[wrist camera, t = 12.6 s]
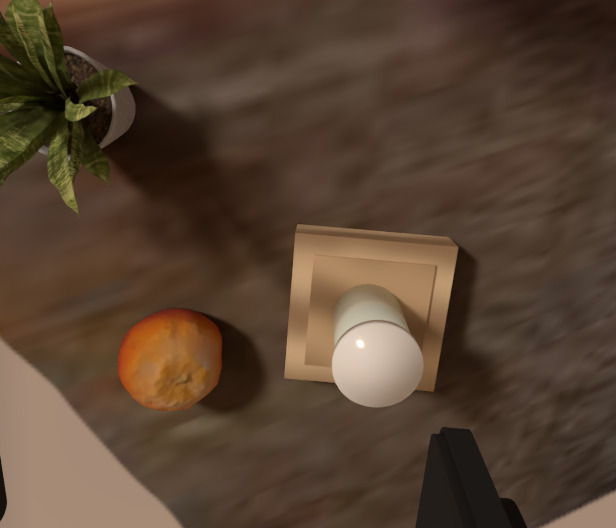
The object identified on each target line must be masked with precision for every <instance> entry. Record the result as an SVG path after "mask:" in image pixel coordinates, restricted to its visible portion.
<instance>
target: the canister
mask: <svg viewBox="0 0 616 528" xmlns="http://www.w3.org/2000/svg"><path fill="white" fill-rule="evenodd" d="M333 326H334V350H333V355H332V373H333V377H334V380H335V383H336V385H337V386H338V388H339V389H340V391H341V392H342V393H343V394H344V395H345V396H346V397H347V398H349V399H350V400H352V401H354V402H356V403H358V404H360V405H364V406H368V407H385V406H390V405H393V404H396V403H398V402H400V401H402V400H404V399H405V398H407V397H408V396H409V395H410V394H411V393H412V392H413V391H414V390H415V389H416V387H417V386H418V384H419V382H420V380H421V378H422V374H423V367H424V363H423V356H422V353H421V350H420V348H419V345H418V343H417V341H416V340H415V338H414V337H413V335H412V334H411V333H410V331H409V328H408V325H407V323H406V320H405V318H404V315H403V312H402V310H401V307H400V304H399V302H398V300H397V299H396V297H395V296H394V295H393V294H392V293H391V292H390V291H389V290H387V289H385V288H384V287H381V286H378V285H374V284H362V285H358V286H355V287H352V288H350V289H349V290H347V291H346V292H345V293H344V294H342V295H341V297H340V298H339V299H338V301H337V303H336V305H335V308H334V312H333Z"/></svg>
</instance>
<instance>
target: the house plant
mask: <svg viewBox="0 0 616 528" xmlns="http://www.w3.org/2000/svg"><path fill="white" fill-rule="evenodd" d="M5 16H6V21H7V23H6V22H5V20H4V18H3V16H2V14H1V12H0V42H1V43H2V44H3V45H4V46H5V47H6V49H7V50H8V51H9V52H10V53H11V55H12V56H13V57H14V58H15V59H16V60H17V61H18V62H15V61H13V60H11V59H9V58H7V57H5V56H3V55H1V54H0V113H3V112H5V111H9V112H8V113H5V114H3V115H1V116H0V186H1V185H2V184H3V183H4V181H5V180H6V178H7V176H8V175H9V174H11V173H12V172H14V171H15V170H17V169H18V168H19V167H21V166H22V165H24V164H25V163H26V162H27V161H28V160H29V159H31V158H32V157H33V156H34V155H35V154H36V153H37V152H38V151H39V152H40V153H42V154H44V155H47V168H48V176H49V180H50V181H51V182H52V184H53V185H54V186H55V187H56V188H57V189H58V190H59V193H60V195H61V197H62V199H63V200H64V202H65V203H66V205H67V206H69V207H70V208H72V209H73V210H74V211H75V212H77V213H78V217H79V211H78V206H77V203H76V199H75V196H74V191H73V186H74V181H75V177H76V175H77V173H78V171H79V169H80V166H81V164H82V163H83V165H84V167H85V168H86V169H87V170H88V171H89V172H91V173H92V174H94V175H95V176H97V177H99V178H100V179H102V180H104V181H105V182H107V183H108V184H109V185H111V184H110V182H109V171H110V168H109V164H108V161H107V158H106V156H105V154H104V152H103V151H102V148H104V147H105V146H107V145H108V144H110V143H111V142H113V141H114V140H116V139H117V138H119V137H120V136H122V135H123V134H124V133H125V132H126V131H127V130H128V129H129V128H130V126H131V125H132V123H133V120H134V117H135V108H136V105H135V101H134V98H133V95H132V93H131V91H130V89H129V87H128V86H130V85H133V84H139V83H136V82H134V81H133V80H131V79H130V78H129V77H128V76H126V75H125V74H124V73H123V72H122V71H118V70H114V69H108V68H107V67H105V66H104V65H102V64H100V63H99V62H97V61H96V60H94V59H92V58H91V57H89V56H88V55H86V54H85V53H83V52H80V51H78V50H76V49H74V48H71V47H68V46H64V45H63V37H62V33H61V30H60V27H59V24H58V22H57V20H56V18H55V16H54V13H53V9H52V2H51V3H50V4H49V6H48V7H46V8H45V9H44V10H43V11H42V8H41V6H40V4H39V2H38V0H12V1H11V3H10V4H9V5H8V7H7V10H6V14H5ZM7 24H8V25H7ZM8 26H9V27H8ZM68 161H70V163H68Z"/></svg>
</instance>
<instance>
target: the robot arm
mask: <svg viewBox="0 0 616 528" xmlns="http://www.w3.org/2000/svg"><path fill="white" fill-rule="evenodd" d="M6 505H7V498H6V491H5V485H4V478H3V472H2V465H1V458H0V521H1V519H2V518H3V515H4V513H5V510H6ZM416 528H527V526H526V524H525V522H524V520H523V517H522V515H521V513H520V511H519V509H518V507H517V505H516V504H515V502H514V501H513V500H511V499H508V498H499V496H498V493H497V491H496V489H495V486H494V484H493V481H492V479H491V477H490V474H489V472H488V470H487V467H486V465H485V463H484V460H483V458H482V456H481V453H480V451H479V448H478V446H477V444H476V441H475V439H474V437H473V434H472V432H471V431H470V430H469V429H460V428H447V427H443V428H441V430H440V434H432V435H431V439H430V444H429V450H428V456H427V462H426V468H425V474H424V480H423V486H422V492H421V498H420V504H419V510H418V516H417V522H416Z"/></svg>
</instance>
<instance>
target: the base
mask: <svg viewBox="0 0 616 528" xmlns="http://www.w3.org/2000/svg"><path fill="white" fill-rule="evenodd" d="M457 253H458V246H457V245H456V244H455V243H454V242H453V241H452V240H451V239H450V238H449V237H440V236H429V235H417V234H406V233H394V232H383V231H371V230H360V229H348V228H337V227H325V226H314V225H302V224H297V228H296V233H295V245H294V258H293V271H292V284H291V297H290V311H289V324H288V337H287V350H286V363H285V376H284V378H288V379H300V380H311V381H322V382H333V383H335V380H334V377H333V373H332V355H333V350H334V326H333V312H334V308H335V305H336V303H337V301H338V299H339V298H340V297H341V295H342V294H344V293H345V292H346V291H347V290H349V289H350V288H352V287H355V286H358V285H362V284H374V285H378V286H381V287H384V288H385V289H387V290H389V291H390V292H391V293H392V294H393V295H394V296H395V297H396V299H397V300H398V302H399V304H400V307H401V310H402V312H403V315H404V318H405V320H406V323H407V325H408V328H409V331H410V333H411V334H412V335H413V337H414V338H415V340H416V341H417V343H418V345H419V348H420V350H421V353H422V356H423V363H424V367H423V374H422V378H421V380H420V382H419V384H418V386H417V387H416V389H415V390H422V391H433V392H434V387H435V381H436V376H437V370H438V364H439V358H440V352H441V346H442V341H443V335H444V329H445V323H446V317H447V311H448V306H449V300H450V294H451V288H452V282H453V276H454V270H455V265H456V259H457Z"/></svg>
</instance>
